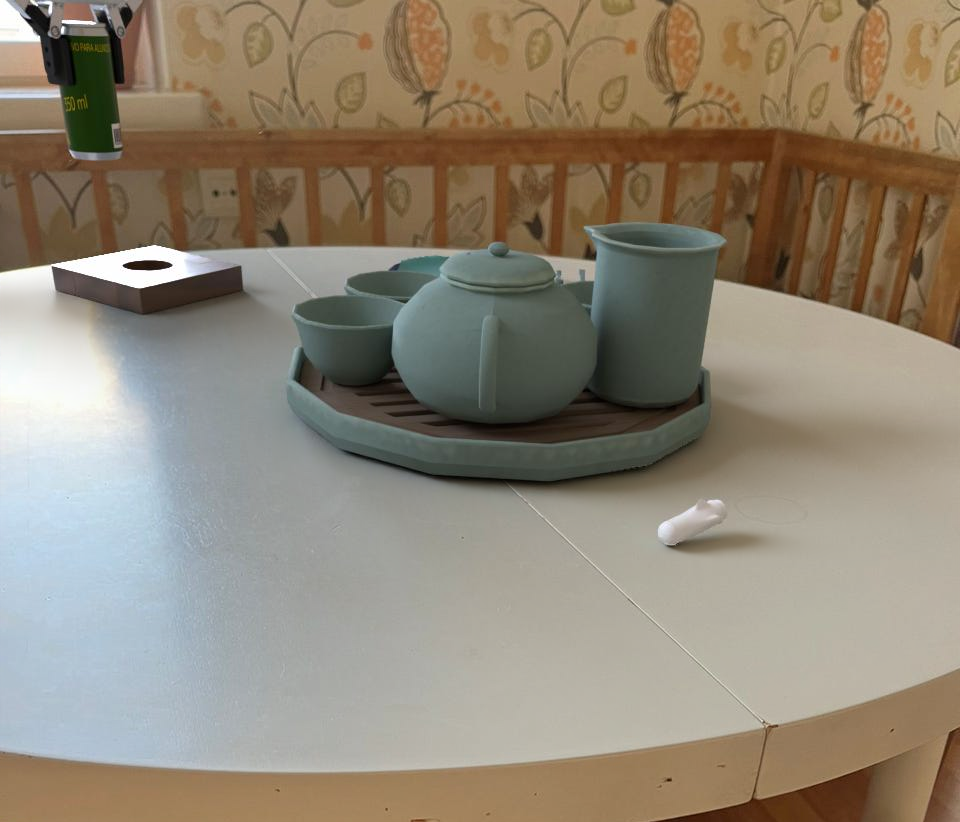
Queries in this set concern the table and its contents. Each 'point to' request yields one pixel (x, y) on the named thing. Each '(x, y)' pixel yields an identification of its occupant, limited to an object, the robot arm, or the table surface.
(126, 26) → the robot arm
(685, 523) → the small white plastic part
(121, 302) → the holder
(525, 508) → the table surface
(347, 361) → the tea set
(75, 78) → the beer can
